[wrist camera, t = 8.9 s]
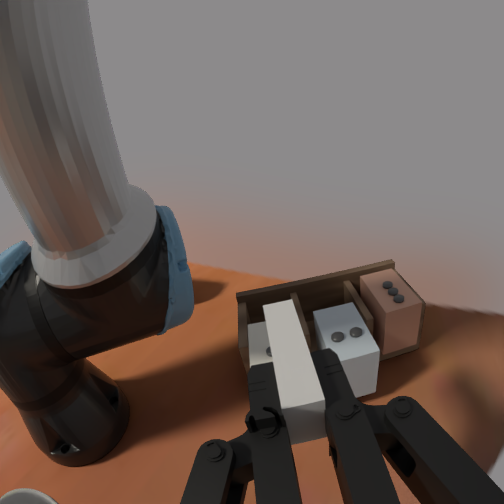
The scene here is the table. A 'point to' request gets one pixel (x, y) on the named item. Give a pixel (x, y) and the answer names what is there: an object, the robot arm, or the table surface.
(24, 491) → the teacup
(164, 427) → the table surface
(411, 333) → the tan rectangular block
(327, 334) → the pale blue knobbed block
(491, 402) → the table surface
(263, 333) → the cream dotted block
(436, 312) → the table surface
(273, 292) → the wooden compartment box
